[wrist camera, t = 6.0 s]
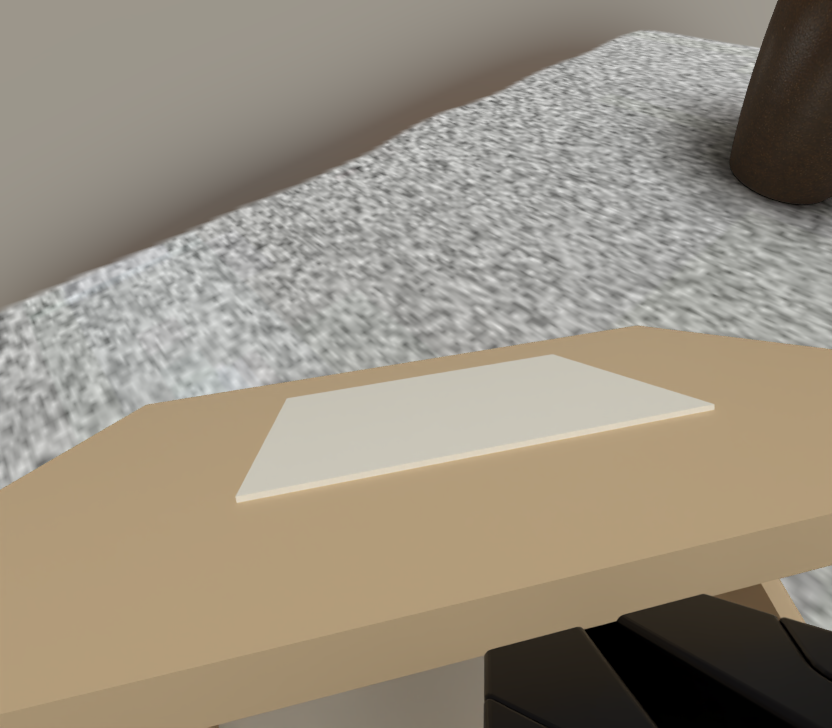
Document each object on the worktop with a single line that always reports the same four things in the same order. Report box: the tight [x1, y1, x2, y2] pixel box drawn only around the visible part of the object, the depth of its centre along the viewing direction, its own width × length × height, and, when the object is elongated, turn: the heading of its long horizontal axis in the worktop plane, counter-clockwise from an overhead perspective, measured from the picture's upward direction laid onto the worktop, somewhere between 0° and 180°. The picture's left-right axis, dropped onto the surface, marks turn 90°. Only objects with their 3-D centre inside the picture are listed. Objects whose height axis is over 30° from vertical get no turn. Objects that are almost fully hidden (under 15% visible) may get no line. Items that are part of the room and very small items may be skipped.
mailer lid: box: [0, 326, 832, 728], centre depth 10 cm, size 12×18×1 cm
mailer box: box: [208, 579, 805, 728], centre depth 15 cm, size 12×18×6 cm, turn 102°
